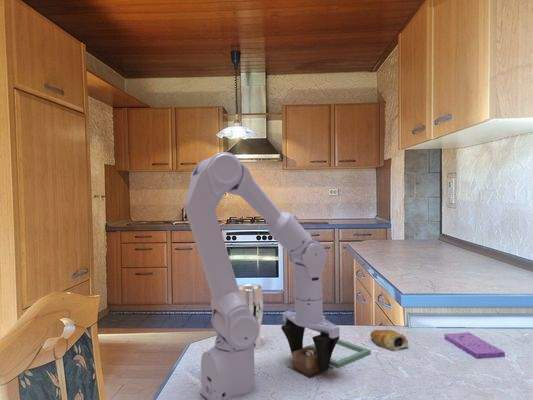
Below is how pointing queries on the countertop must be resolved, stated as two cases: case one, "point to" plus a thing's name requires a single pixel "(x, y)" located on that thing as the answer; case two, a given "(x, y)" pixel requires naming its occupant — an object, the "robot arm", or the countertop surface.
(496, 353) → the sponges
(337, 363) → the tray
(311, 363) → the collar
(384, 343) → the pastry
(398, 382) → the countertop surface
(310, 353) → the grey peg base
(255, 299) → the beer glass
